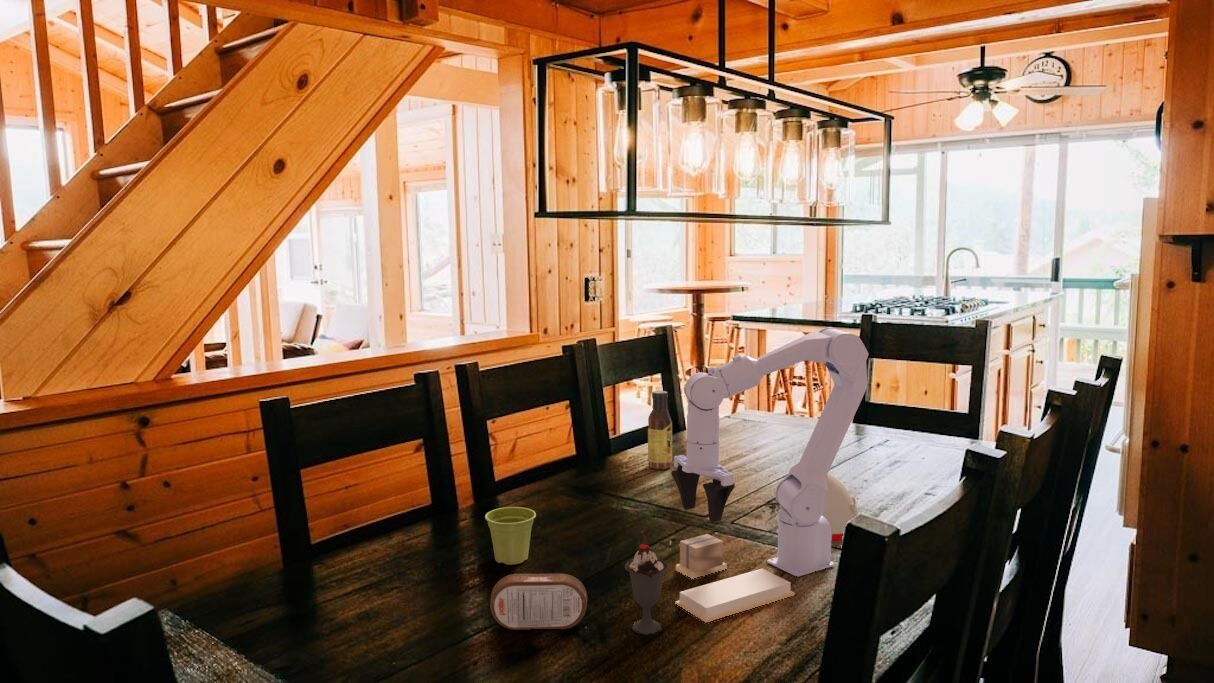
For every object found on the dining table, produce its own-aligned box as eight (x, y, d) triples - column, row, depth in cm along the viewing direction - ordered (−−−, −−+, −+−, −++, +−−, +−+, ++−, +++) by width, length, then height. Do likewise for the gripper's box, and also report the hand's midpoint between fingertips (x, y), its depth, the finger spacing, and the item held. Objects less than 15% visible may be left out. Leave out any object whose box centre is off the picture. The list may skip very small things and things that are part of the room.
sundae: (641, 613, 134) (641, 524, 132) (676, 626, 129) (677, 533, 127) (616, 629, 128) (615, 535, 126) (651, 642, 124) (651, 546, 122)
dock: (675, 604, 137) (675, 591, 136) (762, 579, 147) (762, 566, 146) (705, 624, 130) (705, 610, 130) (794, 595, 140) (794, 582, 140)
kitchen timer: (857, 521, 176) (860, 452, 174) (858, 545, 163) (861, 470, 161) (790, 515, 180) (792, 448, 178) (786, 538, 166) (788, 465, 164)
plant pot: (481, 553, 159) (480, 509, 158) (529, 546, 162) (528, 504, 161) (492, 572, 150) (491, 526, 149) (542, 564, 153) (541, 519, 152)
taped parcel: (709, 561, 155) (710, 532, 154) (726, 570, 151) (727, 540, 150) (675, 571, 151) (675, 541, 150) (692, 580, 147) (692, 549, 146)
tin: (587, 622, 131) (587, 570, 130) (587, 631, 128) (587, 579, 127) (491, 623, 131) (490, 572, 129) (489, 633, 127) (488, 581, 126)
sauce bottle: (672, 470, 213) (673, 394, 210) (648, 470, 213) (648, 394, 211) (671, 463, 220) (671, 389, 217) (647, 463, 220) (647, 389, 217)
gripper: (660, 435, 152) (660, 507, 153) (711, 453, 139) (709, 530, 141) (691, 430, 155) (690, 500, 157) (743, 447, 143) (741, 523, 145)
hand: (701, 514), depth 149 cm, fingers open, 7 cm apart
